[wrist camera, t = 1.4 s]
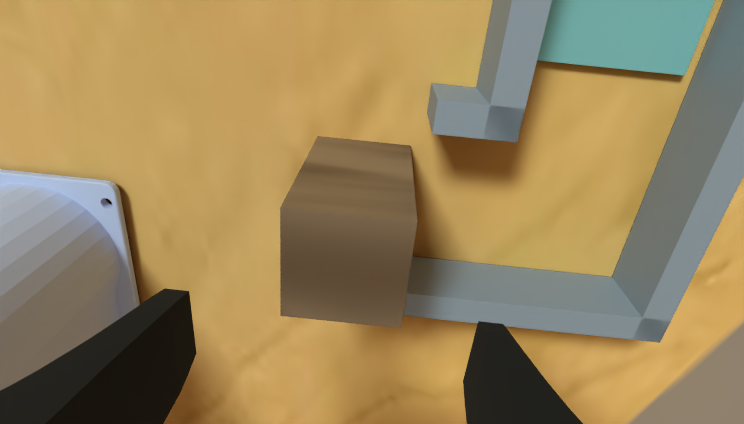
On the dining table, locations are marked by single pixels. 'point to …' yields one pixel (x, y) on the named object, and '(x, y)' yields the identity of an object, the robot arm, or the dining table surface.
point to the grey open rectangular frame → (654, 219)
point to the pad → (625, 33)
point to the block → (349, 233)
